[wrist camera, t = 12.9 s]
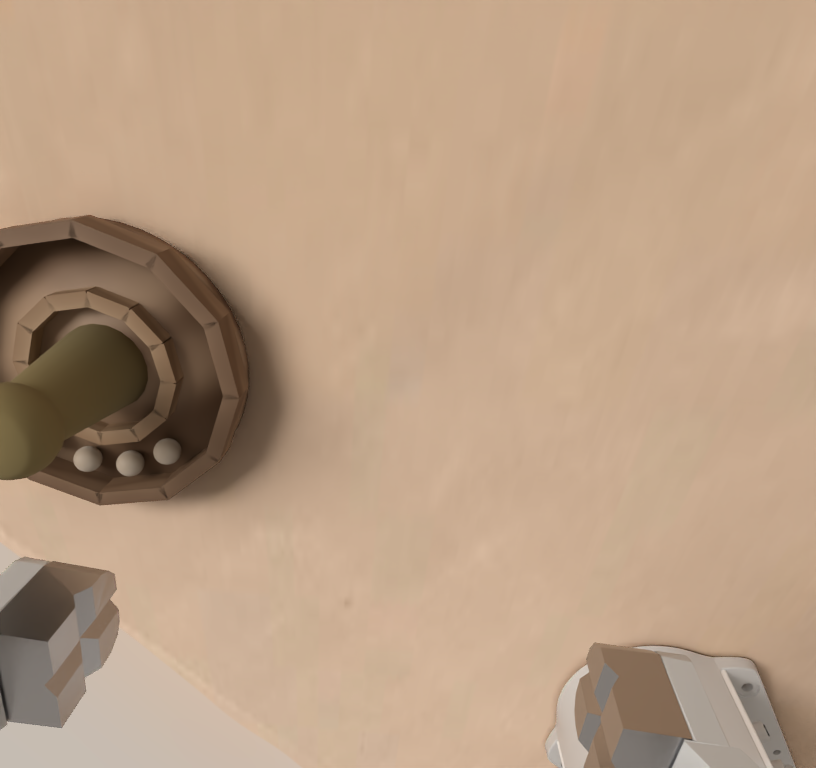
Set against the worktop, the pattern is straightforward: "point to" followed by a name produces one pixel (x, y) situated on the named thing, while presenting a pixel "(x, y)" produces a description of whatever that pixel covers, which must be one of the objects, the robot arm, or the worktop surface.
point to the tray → (150, 331)
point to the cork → (66, 395)
